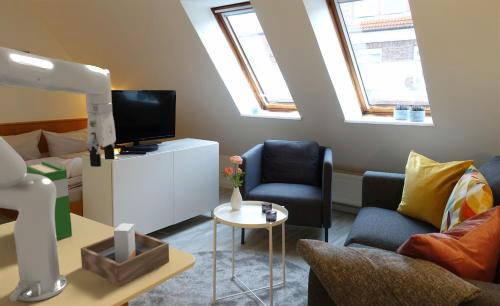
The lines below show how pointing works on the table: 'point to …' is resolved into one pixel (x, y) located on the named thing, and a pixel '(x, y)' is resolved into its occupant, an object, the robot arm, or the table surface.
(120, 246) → the skincare box
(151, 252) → the socket box
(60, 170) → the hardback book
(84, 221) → the table surface
